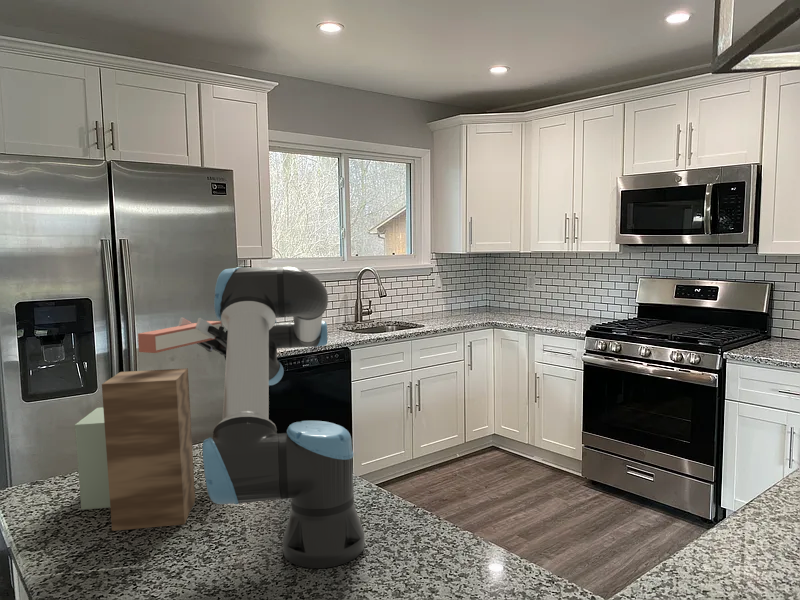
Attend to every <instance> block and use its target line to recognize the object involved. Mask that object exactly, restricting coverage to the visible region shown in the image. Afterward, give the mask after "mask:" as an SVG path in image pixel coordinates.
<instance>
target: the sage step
mask: <svg viewBox="0 0 800 600" xmlns="http://www.w3.org/2000/svg"><path fill="white" fill-rule="evenodd" d="M74 430H75V431H74V432H75V444H76V455H77V456H76V458H77V472H78V483H79V484H78V485H79V499H80V510H82V511H83V510H93V509H94V510H95V509H105V508H106V509H107V508H110V495H109V480H108V466H107V452H106V438H105V424H104V410H103V407H96V408H95V409H94V410H93V411H91V412H89V413H88V414H86V416H85V417H83V418H82V419H80V420H79V421H78V422H76V423H75V424H74Z"/></svg>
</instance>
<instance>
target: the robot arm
mask: <svg viewBox="0 0 800 600" xmlns="http://www.w3.org/2000/svg"><path fill="white" fill-rule="evenodd" d="M213 300H214V302H213V304H214V306H213V307H214V314H215V317H216V318H217V319H218V320H219V321H221V324H222V325H223V326H220V327H219V330H218V328H216V327H215V326H213V325H212V324H210V323H208V322H207V321H208V320H206V319H204V318H202V317H198V318H197V321H196V323H197V324H196V328H195V329H197V330H199V331H200V332H202V333H203V334H205V335H207V336H208V337H210V338H212V339H214V340H209V341H205V342H201V343H196V344H195V345H199V346H200V347H202V348H204V349H205V350H206V351H207V352H208V353H211V352H213V351H215V352H216V353H219V354H220V355H222V356H224V360H225V370H224V371H225V372H224V373H225V375H224V385H223V386H224V388H223V389H224V390H223V405H222V407H223V408H222V420H221V421H219V422H218V423H217V424H215V426H214V427H213V431H212V433H213V434H212V437H208V438H206V439H204V440H203V442H202V462H203V463H202V464H203V471H204V479H205V484H206V489H207V494H208V497H209V499H210V500H211V501H212V503H214V504H216V505H229V504H230V505H231V504H234V505H236V506H237V505H239V504H246V503H255V502H266V501H276V500H286V499H290V513H289V516H288V521H287V524H286V527H285V531H284V535H283V538H282V552H283V556H284V558H285V559H286V560H287V561H288V562H289V563H291V564H293V565H295V566H299V567H303V568H307V569H308V568H309V569H326V568H333V567H338V566H341V565H343V564H346V563H349V562H350V561H353V560H354V559H357V558H358V556H360V555H361V553H362V552H364V549H365V541H366V540H365V531H364V528H363V525H362V522H361V519H360V517H359V514H358V512H357V509H356V506H355V497H354V472H353V470H354V468H353V458H354V451H353V446H352V445H353V443H352V442H353V441H352V436H351V433H350V432H349V430H348V429H346V428H345V427H344V426H342V425H340V424H336V423H334V422H329V421H322V420H301V421H296V422H292V423H291V424H289V426H288V427H287V429H286V432H281V433H280V432H279V433H278V432H277V431H278V429H277V426H276V424H275V423H274V422H273V421H272V420H271V419H269V415H270V413H269V411H270V409H269V408H270V406H269V405H270V401H269V400H270V398H269V397H270V395H269V390H270V389H269V387H270V386H274V385H276V384H278V383H279V382H280V381H281V380H282V378H283V376H284V373H285V372H284V371H285V370H284V367H283V365H282V363H281V362H280V361H279V360H278V349H293V348H296V349H297V348H317V347H324V346H326V345H328V335H329V334H328V324H327V322H326V321H325V320H323V314H324V313H325V312H326V310H327V308H328V304H329V295H328V291H327V289H326V286H325V285H324V283H322V281H321V280H320V279H319V278H318V277H316V276H315V275H314V274H313V273H311V272H309V271H307V270H304V269H302V268H300V267H296V266H295V267H294V266H291V265H289V266H263V267H262V266H261V267H260V266H257V267H255V266H254V267H253V266H251V267H243V266H238V267H234V268H233V267H232V268H225V269H223V270H222V271H221V272H220V273H219V274H218V277H217V279H216V283H215V289H214V299H213ZM279 318H293V321H285V322H284V321H282V322H280V321H279V322H278V321H277V319H279ZM192 323H193V322H191V321H190V320H188V319H187V318H185V317H182V316H181V317H180V318H179V321H178V324H177V326H182V325H187V324H192ZM224 329H226V331H225V330H224ZM215 337H216V339H215Z"/></svg>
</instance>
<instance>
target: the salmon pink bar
mask: <svg viewBox="0 0 800 600" xmlns="http://www.w3.org/2000/svg"><path fill="white" fill-rule="evenodd" d="M206 321H207V322H208V323H210V324H212V325H213V326H215V327H216V328H218V330H219V327H220V326H222V325H223V324H222V321H221V320H219V321H218V320H216V321H215V320H206ZM196 324H197V322H192V324H187V325H182V326H178V325H177V326H171V327H166V328H160V329H156V330H151V331H150V330H149V331H145V332H140V333H137V339H138V340H137V342H138V345H137V346H138V352H139V353H149V354H150V353H151V354H158V353H161V352H165V351H170V350H174V349H178V348H184V347H188V346H191V345H197V344H196V343H201V342H205V341H209V340H214V339H212V338H210V337H208V336H207V335H205V334H203V333H202V332H200V331H199V330H197V329H195V328H196ZM222 327H223V326H222ZM215 339H216V337H215Z"/></svg>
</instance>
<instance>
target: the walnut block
mask: <svg viewBox="0 0 800 600" xmlns="http://www.w3.org/2000/svg"><path fill="white" fill-rule="evenodd" d="M101 392H102V395H101V396H102V406H103V410H104V424H105V438H106V452H107V466H108V480H109V495H110V507H109V508H110V520H111V522H110V523H111V532H112V531H125V530H136V529H149V528H157V527H168V526H179V525H186V522H187V520H188V517H189V515H190V514H191V511H192V508H193V507H194V505H195V502H196V490H195V471H194V470H195V469H194V454H193V452H194V451H193V450H194V449H193V439H192V438H193V437H192V436H193V434H192V417H191V401H190V385H189V369H188V368H171V369H170V368H169V369H151V370H150V369H149V370H135V371H134V370H133V371H130V370H129V371H120V372H118V373H117V374H115V375H114V376H112V377H111V378H109V379H108V380H106V381H104V382H103V383H102V384H101Z"/></svg>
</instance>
